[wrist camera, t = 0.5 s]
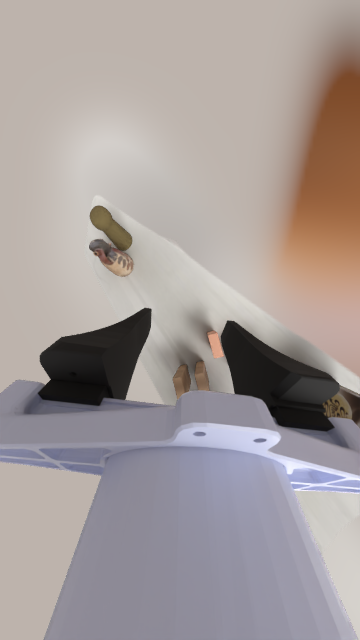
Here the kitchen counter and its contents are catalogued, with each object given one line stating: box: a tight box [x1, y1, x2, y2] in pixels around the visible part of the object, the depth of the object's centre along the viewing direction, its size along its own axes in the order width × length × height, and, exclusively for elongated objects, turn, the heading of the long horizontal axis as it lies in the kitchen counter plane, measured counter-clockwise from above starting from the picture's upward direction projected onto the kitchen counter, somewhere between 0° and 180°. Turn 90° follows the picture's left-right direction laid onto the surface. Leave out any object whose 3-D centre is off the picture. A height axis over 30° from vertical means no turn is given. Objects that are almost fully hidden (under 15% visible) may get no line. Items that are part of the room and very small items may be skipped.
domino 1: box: [173, 364, 191, 399], centre depth 33 cm, size 5×2×9 cm, turn 15°
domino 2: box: [194, 361, 209, 391], centre depth 32 cm, size 5×2×9 cm, turn 15°
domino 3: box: [207, 331, 224, 358], centre depth 31 cm, size 5×2×9 cm, turn 15°
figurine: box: [89, 239, 134, 277], centre depth 36 cm, size 7×7×12 cm
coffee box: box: [322, 385, 360, 428], centre depth 23 cm, size 9×6×16 cm
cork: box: [90, 206, 132, 251], centre depth 36 cm, size 6×6×11 cm
